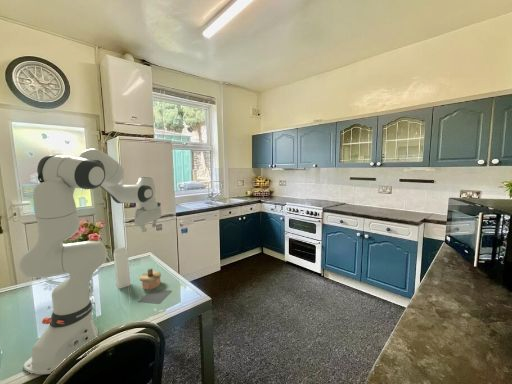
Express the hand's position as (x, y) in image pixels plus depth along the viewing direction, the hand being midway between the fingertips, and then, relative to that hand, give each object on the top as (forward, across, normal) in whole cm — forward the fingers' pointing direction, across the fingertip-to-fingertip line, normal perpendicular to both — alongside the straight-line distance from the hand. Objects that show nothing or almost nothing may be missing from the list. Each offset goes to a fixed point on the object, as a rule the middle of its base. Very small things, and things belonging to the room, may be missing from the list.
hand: (149, 229), depth 135 cm
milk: (+31, -8, +13) cm, 35 cm away
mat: (+31, -16, -12) cm, 37 cm away
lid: (+26, -6, -3) cm, 27 cm away
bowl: (+31, -6, -3) cm, 32 cm away
